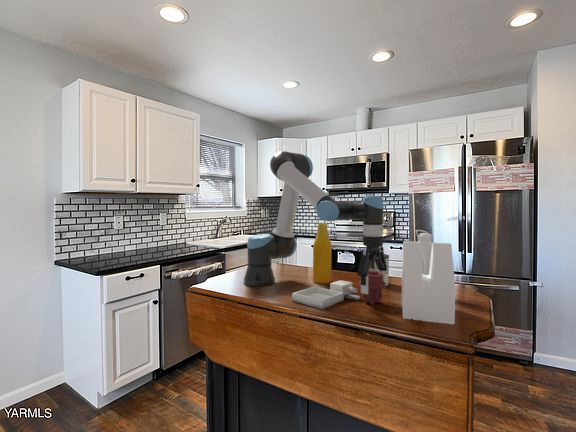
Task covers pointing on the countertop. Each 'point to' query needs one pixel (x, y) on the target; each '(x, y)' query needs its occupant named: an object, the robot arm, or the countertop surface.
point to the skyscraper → (425, 250)
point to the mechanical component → (374, 287)
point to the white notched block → (428, 284)
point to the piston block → (343, 287)
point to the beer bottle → (322, 256)
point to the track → (352, 296)
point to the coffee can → (386, 273)
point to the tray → (318, 297)
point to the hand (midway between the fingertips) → (372, 290)
